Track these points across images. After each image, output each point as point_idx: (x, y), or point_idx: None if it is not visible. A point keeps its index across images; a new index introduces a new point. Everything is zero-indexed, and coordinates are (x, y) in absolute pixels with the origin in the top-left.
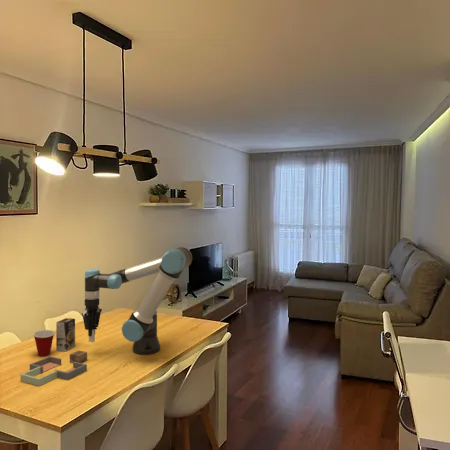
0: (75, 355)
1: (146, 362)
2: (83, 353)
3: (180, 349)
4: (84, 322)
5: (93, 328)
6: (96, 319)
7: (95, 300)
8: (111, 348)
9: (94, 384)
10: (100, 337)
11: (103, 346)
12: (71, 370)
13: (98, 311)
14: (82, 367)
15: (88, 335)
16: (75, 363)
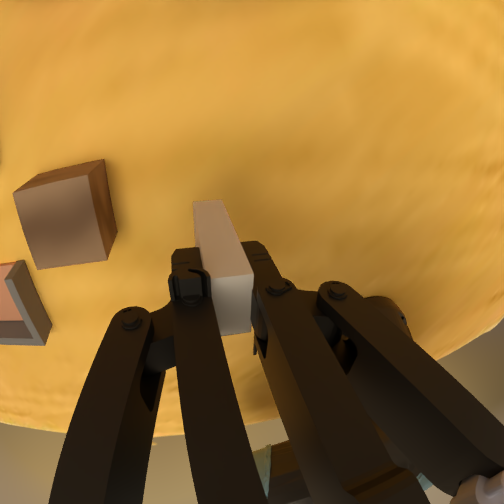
0: (28, 244)
1: (245, 403)
2: (76, 261)
3: None
4: (73, 447)
5: (254, 325)
6: (381, 400)
7: None
8: (338, 208)
9: (39, 394)
10: (445, 45)
11: (352, 141)
12: (1, 282)
13: (459, 498)
14: (26, 341)
15: (173, 256)
16: (12, 293)
